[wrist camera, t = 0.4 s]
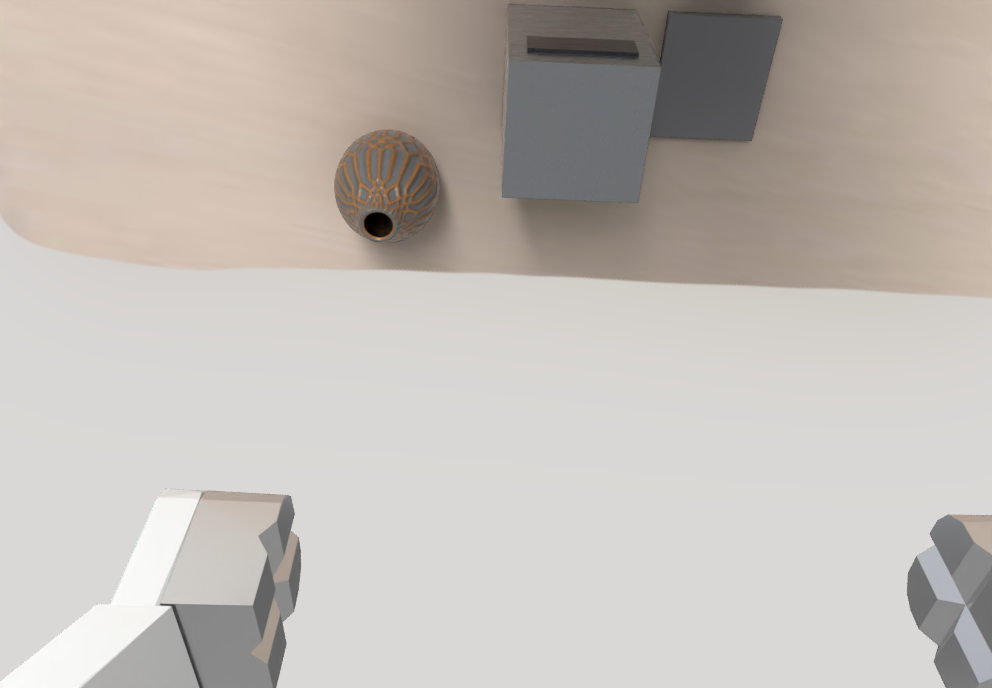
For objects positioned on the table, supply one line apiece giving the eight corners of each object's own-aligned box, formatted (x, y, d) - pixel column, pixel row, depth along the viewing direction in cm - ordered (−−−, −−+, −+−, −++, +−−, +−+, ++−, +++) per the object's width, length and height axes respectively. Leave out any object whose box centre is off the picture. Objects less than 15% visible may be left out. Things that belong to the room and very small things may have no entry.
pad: (668, 11, 50) (670, 14, 50) (780, 16, 50) (782, 19, 50) (648, 132, 55) (649, 136, 55) (749, 137, 55) (751, 140, 55)
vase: (459, 144, 56) (453, 207, 49) (416, 221, 60) (404, 288, 53) (367, 97, 54) (348, 155, 47) (328, 179, 58) (305, 244, 51)
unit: (507, 0, 50) (509, 56, 42) (636, 6, 50) (661, 63, 42) (501, 130, 55) (501, 201, 47) (618, 135, 55) (637, 207, 48)
